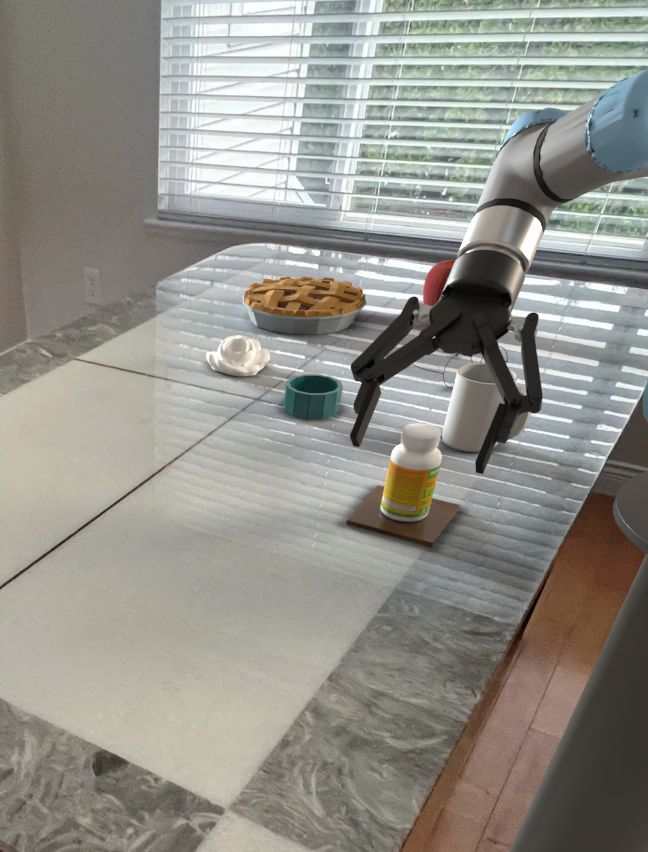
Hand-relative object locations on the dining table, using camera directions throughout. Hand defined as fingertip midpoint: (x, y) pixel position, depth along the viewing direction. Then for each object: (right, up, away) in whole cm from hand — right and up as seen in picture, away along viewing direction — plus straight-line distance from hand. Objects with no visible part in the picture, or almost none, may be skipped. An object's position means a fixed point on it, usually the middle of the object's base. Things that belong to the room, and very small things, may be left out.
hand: (414, 455), depth 91 cm
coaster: (+1, -5, +7) cm, 9 cm away
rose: (-12, +28, +44) cm, 54 cm away
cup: (+16, +8, +21) cm, 28 cm away
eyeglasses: (+20, +25, +39) cm, 51 cm away
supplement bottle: (+1, -5, +7) cm, 8 cm away
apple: (+26, +41, +57) cm, 75 cm away
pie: (+2, +44, +61) cm, 75 cm away
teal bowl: (-4, +17, +31) cm, 35 cm away
